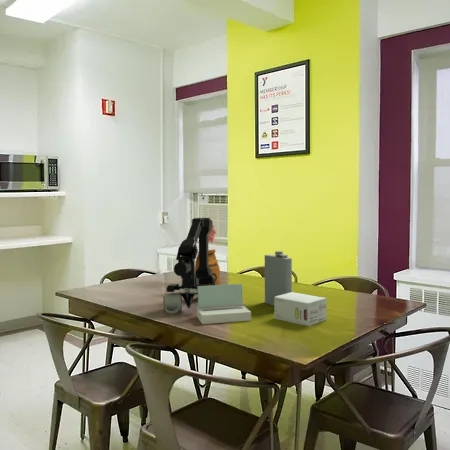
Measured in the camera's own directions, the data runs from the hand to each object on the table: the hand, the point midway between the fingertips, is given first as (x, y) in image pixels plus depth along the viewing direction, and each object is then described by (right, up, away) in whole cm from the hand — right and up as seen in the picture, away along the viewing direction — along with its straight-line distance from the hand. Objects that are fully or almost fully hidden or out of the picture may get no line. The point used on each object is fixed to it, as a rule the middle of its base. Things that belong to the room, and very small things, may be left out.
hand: (189, 307), depth 204 cm
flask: (+40, -1, +9) cm, 41 cm away
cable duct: (+15, -2, -13) cm, 20 cm away
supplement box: (+46, -2, -15) cm, 49 cm away
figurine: (+7, +3, +71) cm, 71 cm away
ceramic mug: (-7, -2, 0) cm, 7 cm away
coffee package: (+7, +1, +43) cm, 44 cm away
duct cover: (+14, +6, -9) cm, 18 cm away
